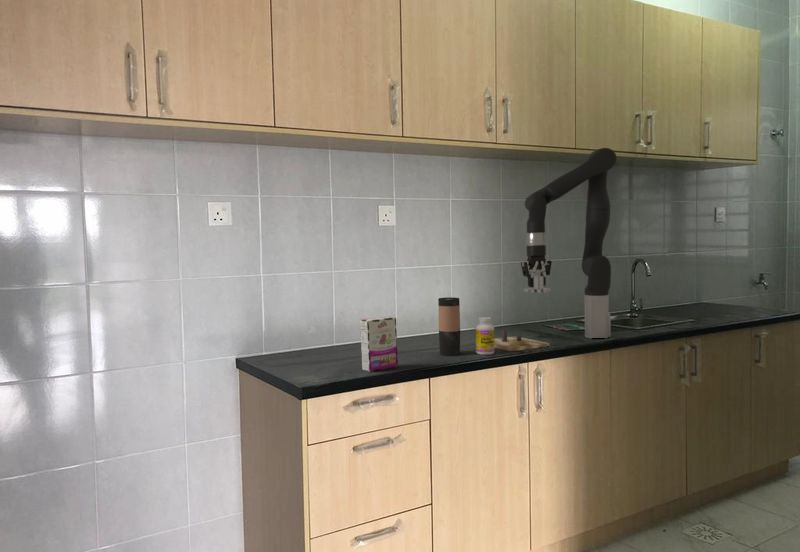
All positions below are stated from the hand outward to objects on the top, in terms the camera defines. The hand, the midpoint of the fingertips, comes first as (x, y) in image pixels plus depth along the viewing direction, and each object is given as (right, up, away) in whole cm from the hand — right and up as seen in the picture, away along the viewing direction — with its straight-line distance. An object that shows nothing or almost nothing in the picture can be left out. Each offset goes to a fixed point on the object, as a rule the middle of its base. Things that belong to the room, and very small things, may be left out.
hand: (536, 286), depth 255 cm
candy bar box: (-61, -26, -49) cm, 83 cm away
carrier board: (-11, -22, -11) cm, 27 cm away
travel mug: (-37, -24, -27) cm, 51 cm away
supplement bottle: (-24, -24, -27) cm, 43 cm away
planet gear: (0, -2, 0) cm, 2 cm away
